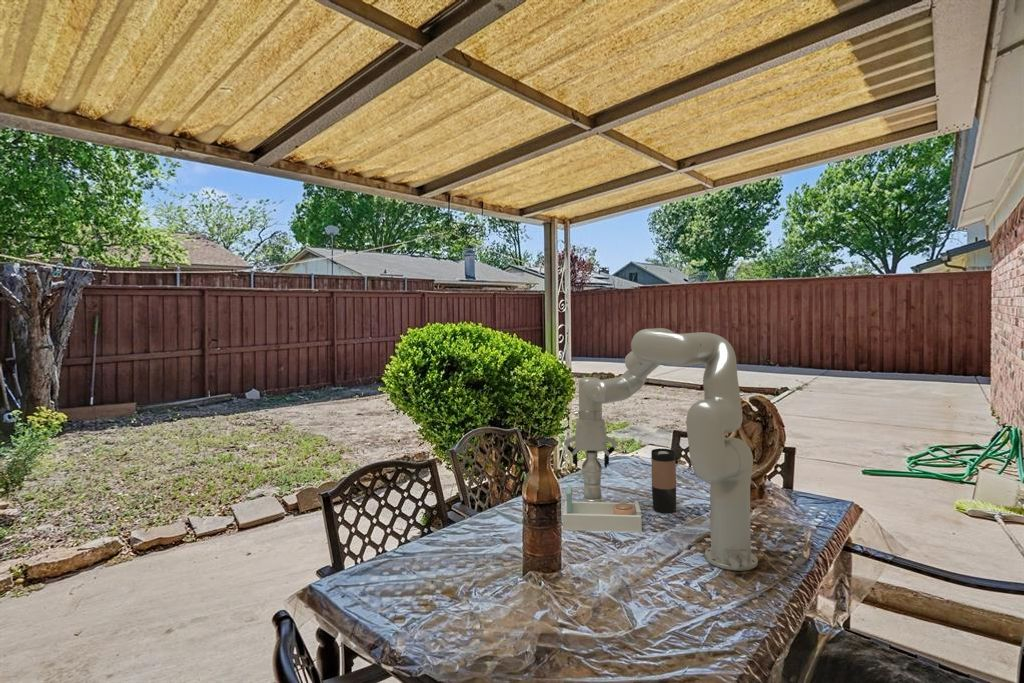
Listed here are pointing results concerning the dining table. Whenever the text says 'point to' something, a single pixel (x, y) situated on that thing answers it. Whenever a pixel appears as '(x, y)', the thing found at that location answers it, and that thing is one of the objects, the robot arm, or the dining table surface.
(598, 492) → the plastic bottle
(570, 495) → the pusher
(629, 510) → the terracotta jar
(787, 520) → the dining table surface
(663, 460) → the travel mug
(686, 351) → the robot arm
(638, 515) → the white open tray
